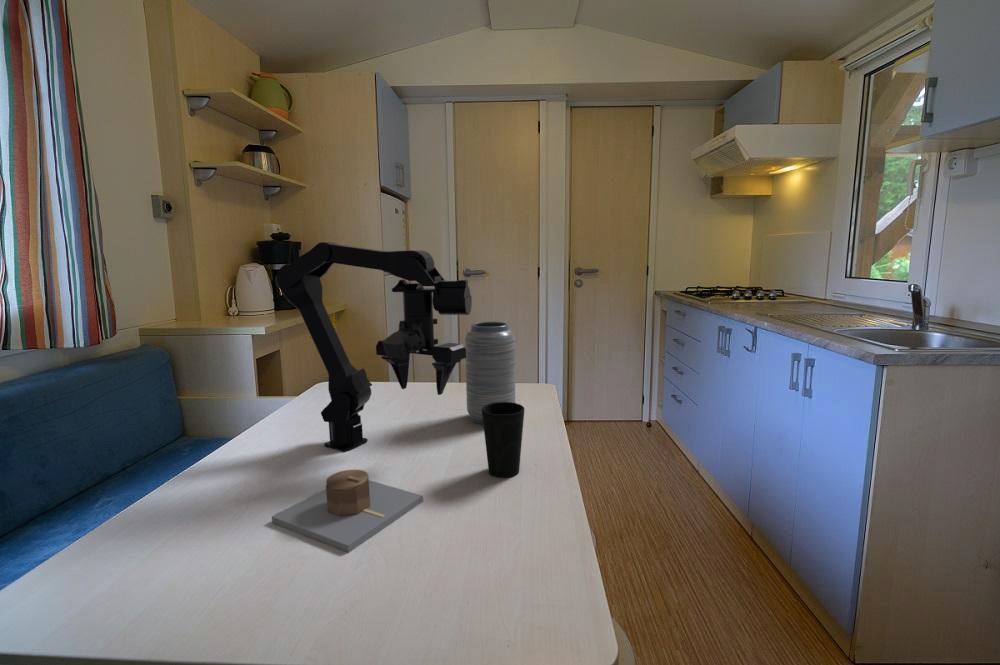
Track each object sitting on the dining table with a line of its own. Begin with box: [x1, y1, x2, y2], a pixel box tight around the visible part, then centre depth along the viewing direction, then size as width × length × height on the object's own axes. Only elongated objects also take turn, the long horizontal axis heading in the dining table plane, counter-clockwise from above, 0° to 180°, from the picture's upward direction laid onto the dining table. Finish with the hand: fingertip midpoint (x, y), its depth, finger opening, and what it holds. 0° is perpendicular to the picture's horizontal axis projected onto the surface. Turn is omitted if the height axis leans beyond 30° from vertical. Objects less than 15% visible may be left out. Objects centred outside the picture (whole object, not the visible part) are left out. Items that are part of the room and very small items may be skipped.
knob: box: [325, 469, 370, 516], centre depth 79 cm, size 6×6×5 cm
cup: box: [482, 402, 525, 479], centre depth 92 cm, size 8×8×12 cm
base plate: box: [271, 479, 424, 553], centre depth 79 cm, size 16×16×4 cm
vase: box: [464, 321, 517, 425], centre depth 120 cm, size 12×12×23 cm
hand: (421, 391), depth 103 cm, fingers open, 9 cm apart
